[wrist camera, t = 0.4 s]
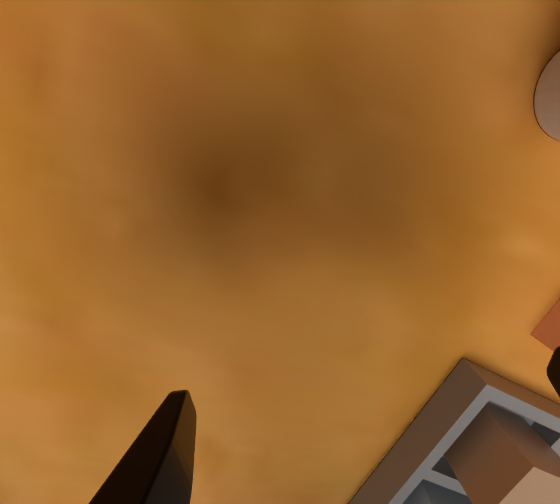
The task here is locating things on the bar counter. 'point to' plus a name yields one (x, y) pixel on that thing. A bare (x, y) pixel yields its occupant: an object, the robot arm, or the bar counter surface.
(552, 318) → the terracotta block
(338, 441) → the bar counter surface
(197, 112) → the bar counter surface
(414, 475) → the grid tray
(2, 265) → the bar counter surface
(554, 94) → the coffee cup
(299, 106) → the bar counter surface
